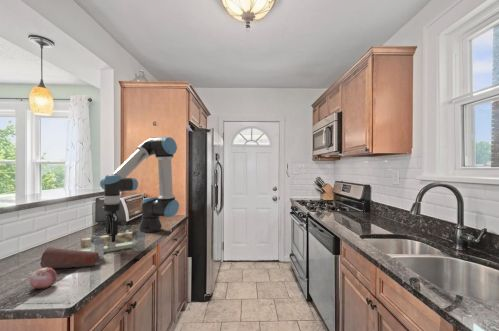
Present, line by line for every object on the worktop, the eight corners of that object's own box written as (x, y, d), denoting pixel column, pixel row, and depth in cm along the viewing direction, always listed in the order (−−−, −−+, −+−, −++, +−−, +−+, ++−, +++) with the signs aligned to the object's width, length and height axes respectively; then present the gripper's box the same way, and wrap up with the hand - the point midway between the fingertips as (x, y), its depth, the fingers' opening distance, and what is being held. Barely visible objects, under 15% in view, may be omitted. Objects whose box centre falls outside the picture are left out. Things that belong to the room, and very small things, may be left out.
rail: (135, 237, 161) (135, 231, 162) (138, 239, 159) (138, 232, 159) (80, 246, 142) (80, 238, 142) (82, 248, 139) (82, 240, 139)
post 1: (99, 254, 139) (99, 235, 139) (103, 258, 134) (103, 238, 134) (90, 256, 136) (90, 237, 136) (94, 260, 131) (94, 239, 131)
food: (39, 272, 115) (39, 251, 116) (49, 265, 125) (49, 245, 125) (96, 268, 121) (96, 247, 121) (101, 261, 130) (102, 242, 130)
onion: (28, 293, 96) (29, 272, 96) (29, 286, 102) (30, 266, 102) (57, 288, 100) (57, 268, 100) (56, 281, 107) (56, 262, 107)
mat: (137, 241, 165) (137, 240, 165) (144, 245, 158) (144, 244, 158) (74, 252, 143) (74, 251, 143) (79, 256, 136) (79, 255, 136)
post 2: (139, 247, 153) (139, 230, 153) (144, 250, 148) (144, 232, 148) (131, 248, 150) (132, 231, 150) (137, 251, 145) (137, 233, 145)
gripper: (99, 202, 154) (98, 244, 154) (109, 205, 142) (108, 251, 142) (114, 201, 159) (113, 242, 159) (124, 204, 147) (124, 249, 147)
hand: (111, 246), depth 150 cm, fingers closed on rail, 4 cm apart
